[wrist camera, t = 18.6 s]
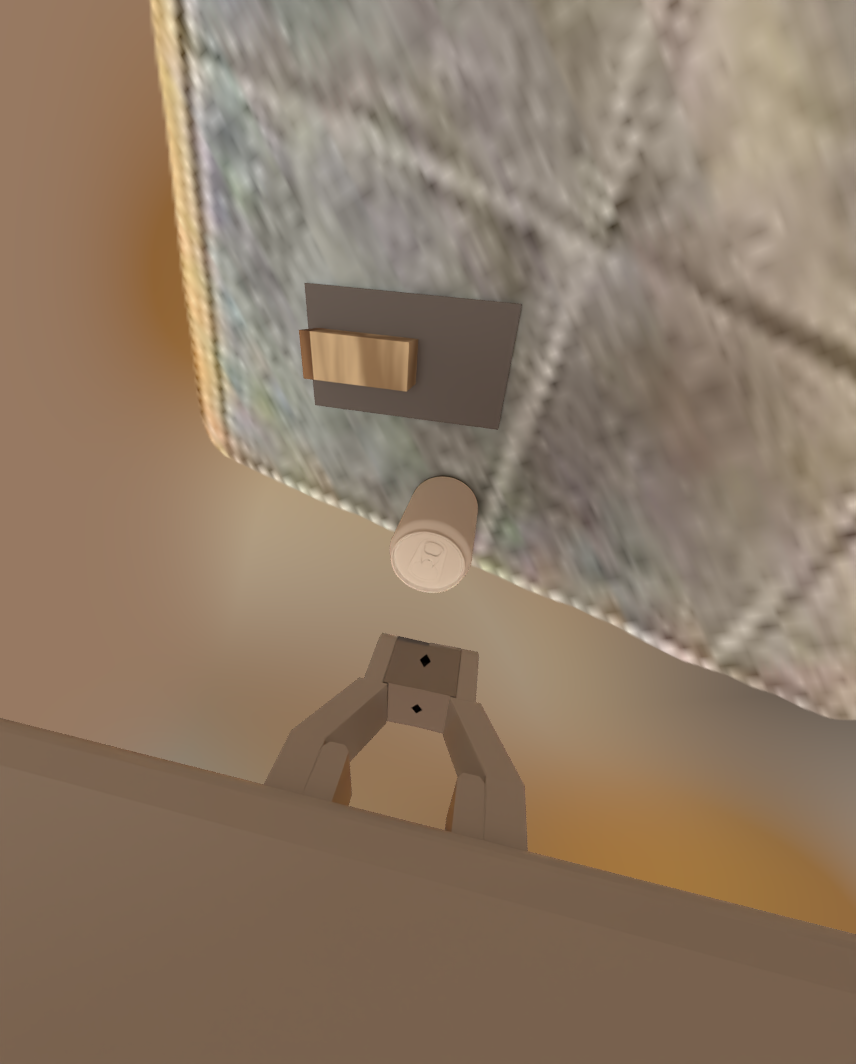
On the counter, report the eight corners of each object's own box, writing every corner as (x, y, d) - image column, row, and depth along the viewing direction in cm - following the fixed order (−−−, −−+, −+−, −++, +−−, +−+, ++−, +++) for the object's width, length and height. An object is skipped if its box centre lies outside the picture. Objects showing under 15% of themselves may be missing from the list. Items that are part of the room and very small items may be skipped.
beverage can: (405, 520, 46) (377, 580, 36) (422, 464, 41) (396, 514, 31) (464, 541, 46) (453, 607, 36) (488, 487, 41) (483, 545, 31)
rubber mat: (521, 304, 32) (521, 304, 31) (498, 428, 38) (497, 429, 37) (307, 283, 34) (304, 283, 33) (317, 403, 40) (315, 405, 39)
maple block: (409, 342, 31) (298, 329, 32) (406, 391, 33) (303, 378, 34) (418, 339, 34) (318, 327, 35) (415, 383, 36) (321, 371, 37)
